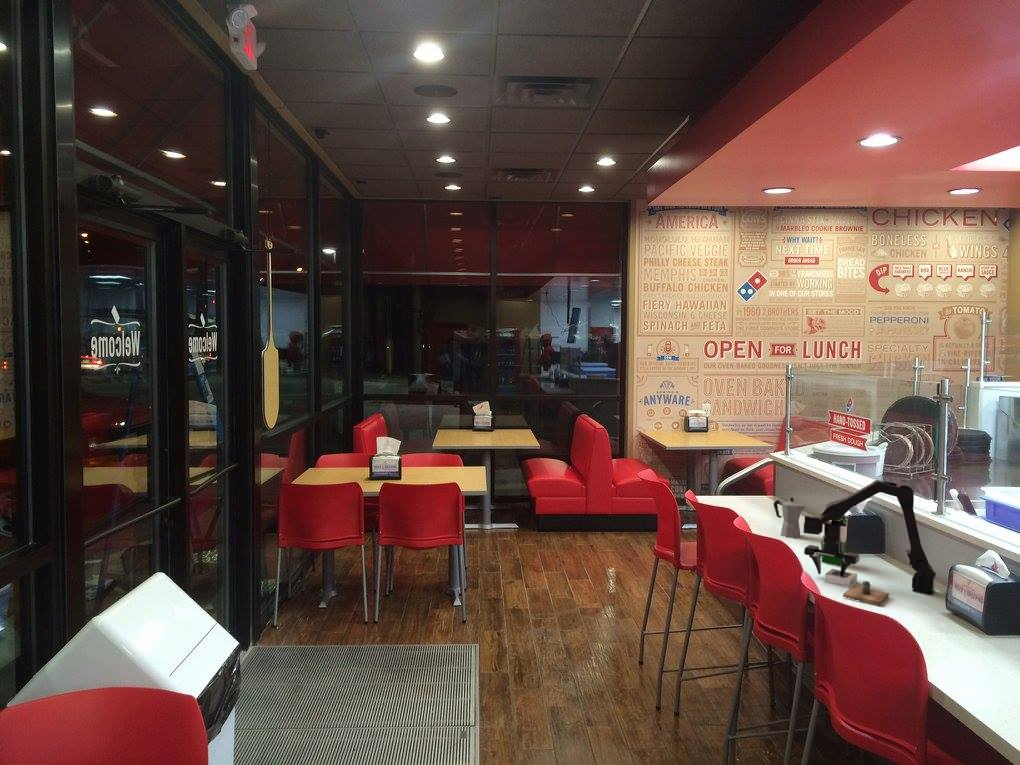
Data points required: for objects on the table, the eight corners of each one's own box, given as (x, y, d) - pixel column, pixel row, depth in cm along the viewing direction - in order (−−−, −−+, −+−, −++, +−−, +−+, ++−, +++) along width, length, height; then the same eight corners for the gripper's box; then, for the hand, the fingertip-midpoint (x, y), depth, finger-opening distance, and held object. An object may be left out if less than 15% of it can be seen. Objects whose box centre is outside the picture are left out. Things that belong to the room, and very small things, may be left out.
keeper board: (888, 597, 259) (889, 580, 259) (879, 606, 250) (880, 589, 250) (852, 589, 267) (853, 573, 266) (843, 597, 258) (843, 581, 257)
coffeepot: (808, 536, 339) (810, 498, 338) (799, 540, 333) (801, 501, 332) (777, 530, 350) (778, 493, 349) (767, 533, 344) (769, 495, 343)
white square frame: (856, 581, 276) (857, 573, 276) (849, 587, 269) (850, 579, 269) (831, 576, 282) (832, 568, 281) (824, 581, 275) (824, 574, 275)
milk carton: (841, 566, 294) (843, 518, 293) (818, 562, 299) (820, 514, 298) (847, 562, 300) (849, 514, 299) (824, 557, 306) (826, 510, 305)
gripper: (864, 536, 277) (862, 576, 278) (814, 527, 289) (812, 566, 290) (856, 542, 268) (854, 584, 269) (804, 533, 280) (802, 572, 281)
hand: (830, 576), depth 278 cm, fingers open, 8 cm apart
